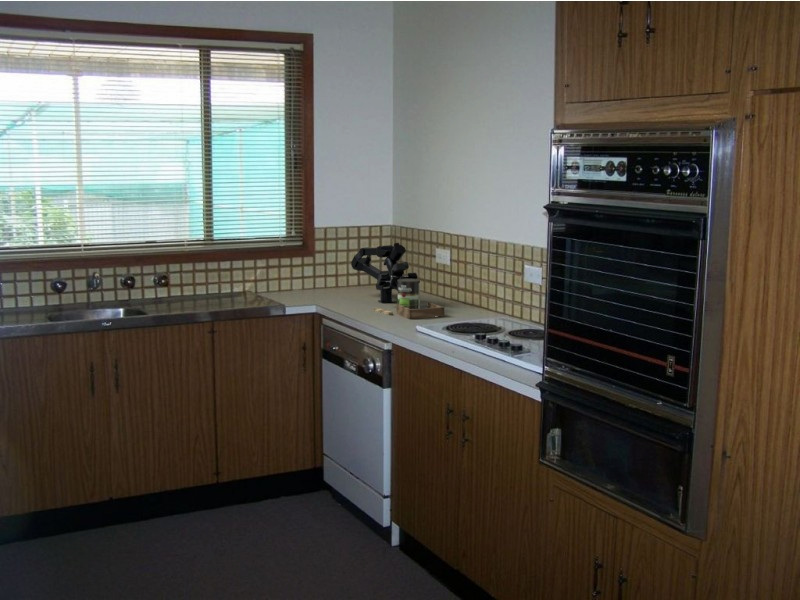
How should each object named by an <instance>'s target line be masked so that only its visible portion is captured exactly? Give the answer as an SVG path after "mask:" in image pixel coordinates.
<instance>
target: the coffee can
mask: <svg viewBox="0 0 800 600" xmlns="http://www.w3.org/2000/svg"><path fill="white" fill-rule="evenodd" d="M397 281H398V291H397V305H401V306H404V307H406V308H409V309H420V307H421V303H420V299H421V298H420V297H421V296H420V295H421V279H419V278H417V279H412V278H405V279H398V280H397Z"/></svg>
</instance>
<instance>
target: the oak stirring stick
mask: <svg viewBox="0 0 800 600" xmlns="http://www.w3.org/2000/svg"><path fill="white" fill-rule="evenodd" d="M372 308H373V310H374V311H373V310H372V311H373V312H376V311H377V313H379V312H380V313H381V314H383V313H384V314H383V315H386V314H387V316H393V315H394V312H393V311H390V310H387V309H383V308H380V307H372Z"/></svg>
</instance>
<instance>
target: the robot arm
mask: <svg viewBox="0 0 800 600" xmlns="http://www.w3.org/2000/svg"><path fill="white" fill-rule="evenodd" d="M406 251H407V250H406V247H405V246H403V245H402V244H400V243H399V242H394V244H393V245H392V244H386V245H379V246H376V247H369V246H368V247H365V246H364V247H361V248H360V249H359V251H358V252H357V253H356V254H354V256H353V258H352V260H351V262H350V266H351V268H352V269H353V270H355V271H359V272H363V273H366V274H367V275H368V276H370V277H372V278H373V279H375V280H376V283H375V289H376V290H378V291H379V294H380V295H379V297H380V299H379V300H378V299H377V302H379V303H382V304H389V303H390V304H391V303H396V302H395V300H393V290H396V291H397V292H398V281H397V280H398V279H405V278H412V279H418V277H419V276H418V273H417V272H408V273H407V274H406V275H404V274H405V271H406V270H408V269H409V267H410V266H409V263H408V262H407V261H404V262H400V260H402V258H403V257H404V255H405V253H406ZM372 256H377V257H378V258H380V259H381V258H382V259H383V258H385V259H384V262H383V266H386V269H387V270H383V271H382V270H381V269H379V268H378V267H376V266H375V265H373V264H371V262H372V259H371V258H372Z"/></svg>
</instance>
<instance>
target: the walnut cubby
mask: <svg viewBox="0 0 800 600" xmlns="http://www.w3.org/2000/svg"><path fill="white" fill-rule="evenodd" d="M427 306H428V308H424V309H409V308H406V307H404V306H401V305H398V304H396V314H397V315H399V316H402V317H403V316H404V317H403V318H405V319H408V320H415V319H417V320H419V319H429V318H428V317H432V318H436V317H435V316H444V317H445V307H443V306H442V305H438V304H437V303H433V302H431V301H430V302H427Z"/></svg>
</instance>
